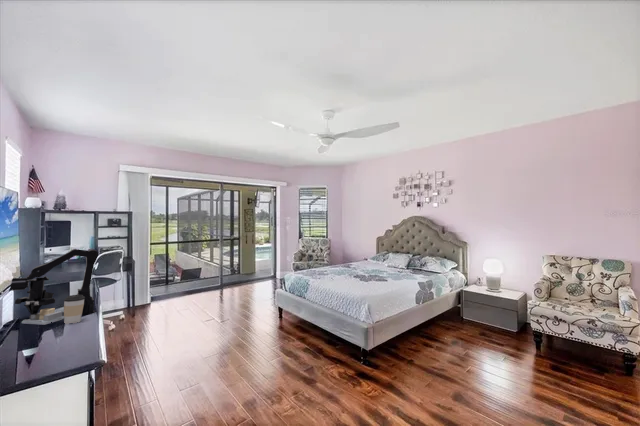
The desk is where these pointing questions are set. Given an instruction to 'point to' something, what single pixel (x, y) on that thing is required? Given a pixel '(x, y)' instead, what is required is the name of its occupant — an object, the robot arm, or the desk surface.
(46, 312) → the maple block
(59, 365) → the desk surface
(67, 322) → the coffee cup
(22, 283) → the robot arm
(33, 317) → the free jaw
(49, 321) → the vise bed
